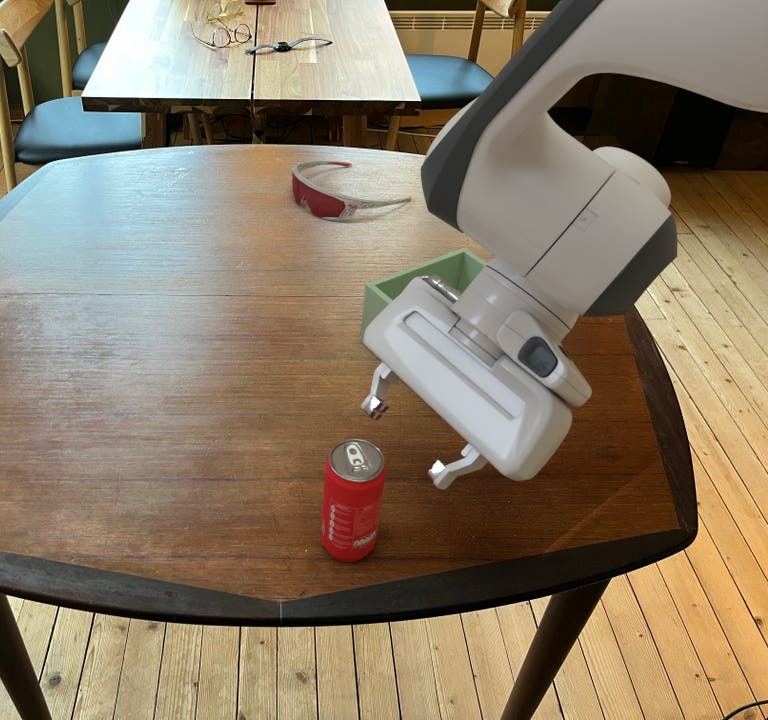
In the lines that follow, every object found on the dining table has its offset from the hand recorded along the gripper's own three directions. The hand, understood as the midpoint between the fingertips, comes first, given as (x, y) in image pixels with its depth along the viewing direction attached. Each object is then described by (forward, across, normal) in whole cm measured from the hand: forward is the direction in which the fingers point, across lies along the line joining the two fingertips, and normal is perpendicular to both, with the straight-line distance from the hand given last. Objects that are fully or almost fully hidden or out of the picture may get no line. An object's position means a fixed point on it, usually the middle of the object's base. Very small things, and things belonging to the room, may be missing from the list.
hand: (399, 447), depth 65 cm
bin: (-8, -16, +23) cm, 29 cm away
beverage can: (+11, 0, +4) cm, 12 cm away
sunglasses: (-16, -55, +31) cm, 65 cm away
